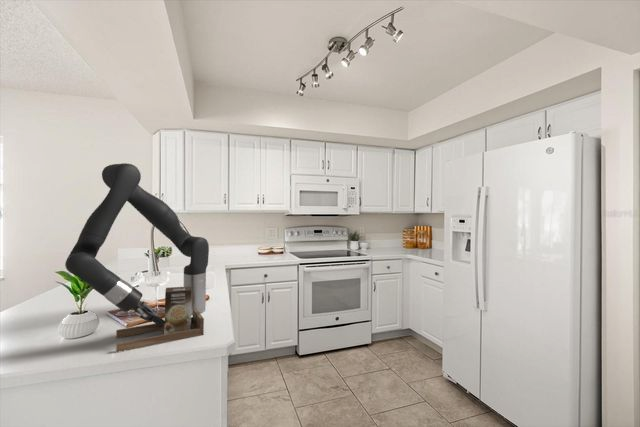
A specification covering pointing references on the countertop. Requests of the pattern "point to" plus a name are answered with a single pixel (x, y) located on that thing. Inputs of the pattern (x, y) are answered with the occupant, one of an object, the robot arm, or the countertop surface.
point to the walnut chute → (195, 320)
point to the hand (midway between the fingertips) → (162, 323)
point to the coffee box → (177, 309)
